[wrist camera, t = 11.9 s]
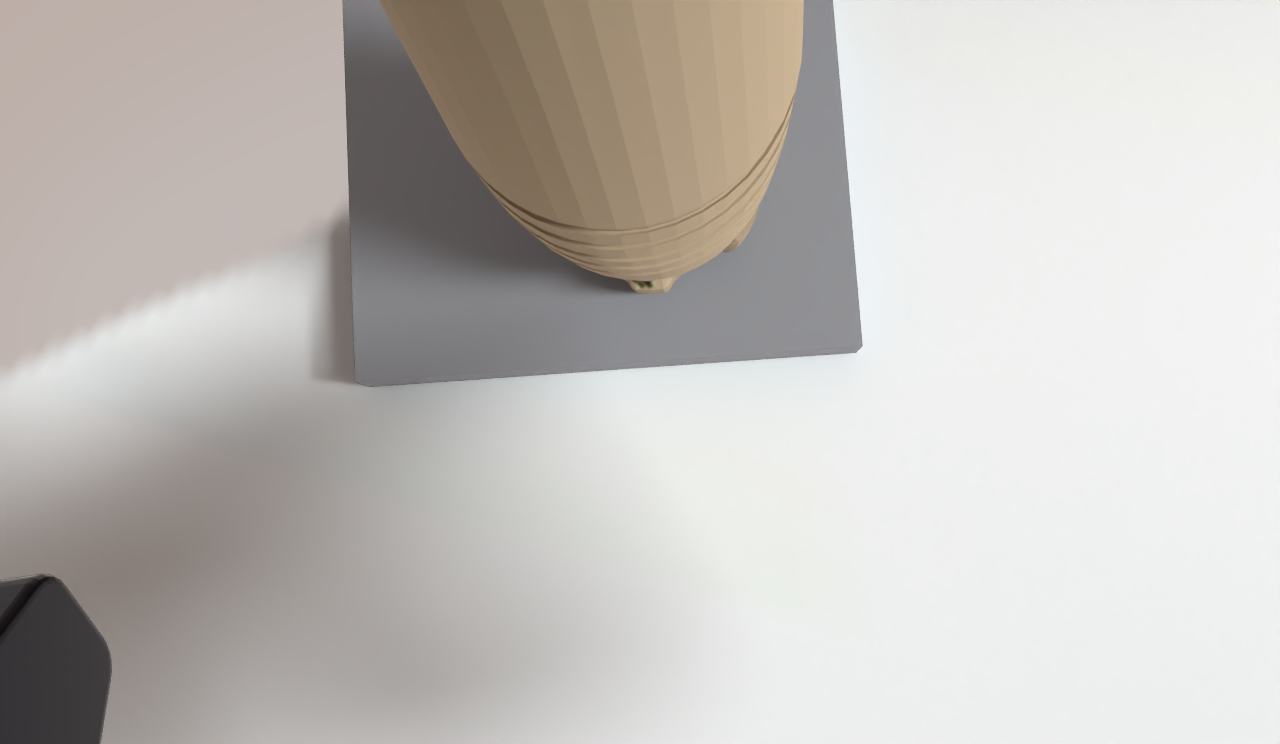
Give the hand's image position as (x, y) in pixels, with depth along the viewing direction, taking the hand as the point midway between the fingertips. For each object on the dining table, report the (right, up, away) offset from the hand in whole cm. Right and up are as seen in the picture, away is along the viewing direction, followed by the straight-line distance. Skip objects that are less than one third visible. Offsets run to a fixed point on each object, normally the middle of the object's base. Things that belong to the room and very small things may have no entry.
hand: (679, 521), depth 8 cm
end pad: (-1, +4, +11) cm, 12 cm away
